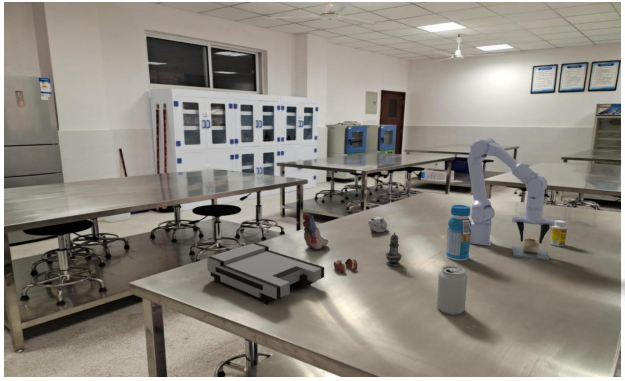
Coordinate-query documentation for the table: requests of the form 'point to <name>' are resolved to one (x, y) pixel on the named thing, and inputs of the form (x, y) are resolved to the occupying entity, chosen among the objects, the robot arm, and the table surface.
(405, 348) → the table surface
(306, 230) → the rooster figurine
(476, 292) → the table surface
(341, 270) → the pair of red halves
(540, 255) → the pin plate
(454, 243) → the beverage bottle
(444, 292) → the can
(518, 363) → the table surface
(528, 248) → the sleeve
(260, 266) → the game console
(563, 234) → the supplement bottle
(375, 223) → the grey lumpy stone
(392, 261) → the stone pagoda statue
